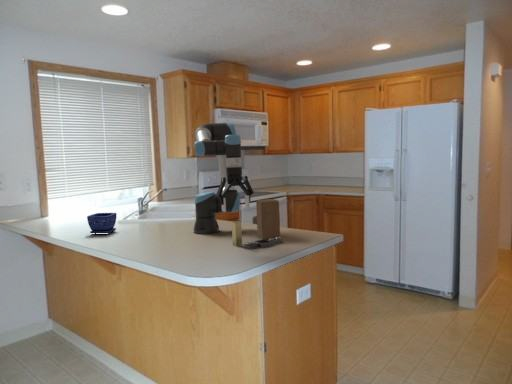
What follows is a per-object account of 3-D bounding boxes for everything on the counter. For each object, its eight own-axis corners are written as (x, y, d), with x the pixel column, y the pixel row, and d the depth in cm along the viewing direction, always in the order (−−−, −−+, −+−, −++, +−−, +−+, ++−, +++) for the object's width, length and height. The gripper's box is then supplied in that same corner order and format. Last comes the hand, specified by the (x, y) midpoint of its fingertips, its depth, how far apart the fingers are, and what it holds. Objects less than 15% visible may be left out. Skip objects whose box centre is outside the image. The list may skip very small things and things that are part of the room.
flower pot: (118, 231, 243) (117, 212, 242) (108, 235, 230) (107, 215, 229) (98, 231, 244) (97, 212, 243) (87, 235, 231) (85, 216, 230)
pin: (232, 245, 192) (231, 221, 191) (238, 244, 194) (237, 220, 193) (236, 246, 190) (235, 222, 188) (242, 245, 192) (241, 221, 190)
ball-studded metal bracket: (242, 247, 187) (241, 242, 187) (276, 240, 199) (275, 235, 199) (250, 250, 181) (250, 244, 181) (285, 243, 193) (285, 237, 193)
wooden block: (262, 239, 203) (261, 201, 201) (257, 235, 213) (255, 199, 211) (280, 237, 206) (279, 200, 204) (274, 234, 215) (273, 198, 213)
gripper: (215, 167, 178) (217, 213, 180) (259, 165, 192) (261, 207, 194) (207, 167, 184) (209, 212, 186) (251, 165, 198) (252, 206, 200)
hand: (235, 210), depth 190 cm, fingers open, 13 cm apart
